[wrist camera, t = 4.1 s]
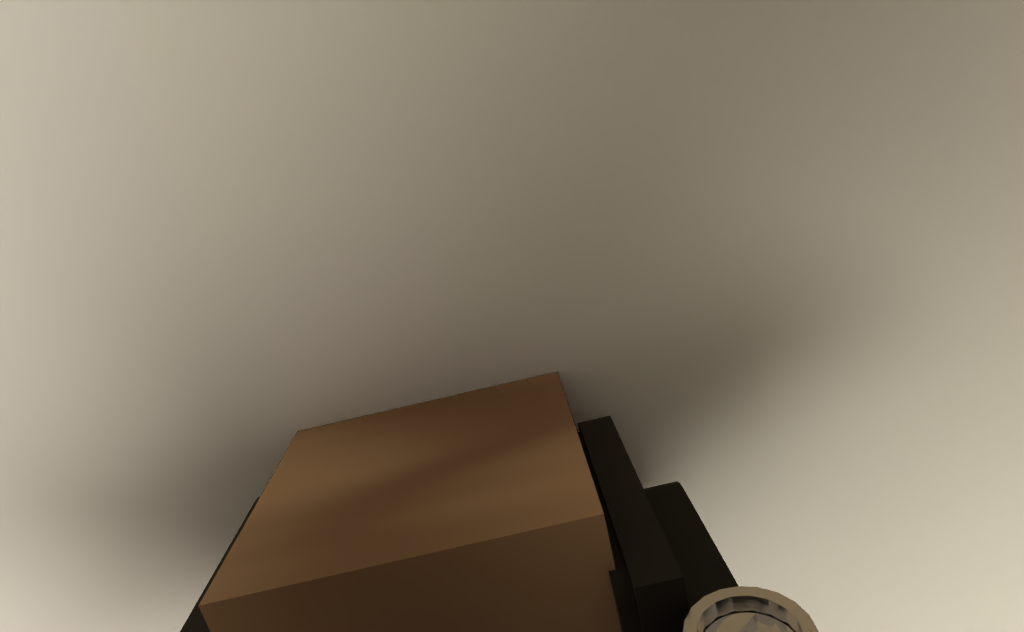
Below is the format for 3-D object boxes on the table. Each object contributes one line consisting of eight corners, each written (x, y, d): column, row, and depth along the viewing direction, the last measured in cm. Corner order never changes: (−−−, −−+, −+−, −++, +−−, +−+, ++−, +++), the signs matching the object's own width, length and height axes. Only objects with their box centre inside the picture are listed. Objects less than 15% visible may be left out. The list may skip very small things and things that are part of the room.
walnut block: (557, 371, 11) (604, 514, 7) (604, 587, 12) (665, 807, 8) (297, 431, 11) (198, 606, 7) (373, 639, 12) (324, 883, 8)
